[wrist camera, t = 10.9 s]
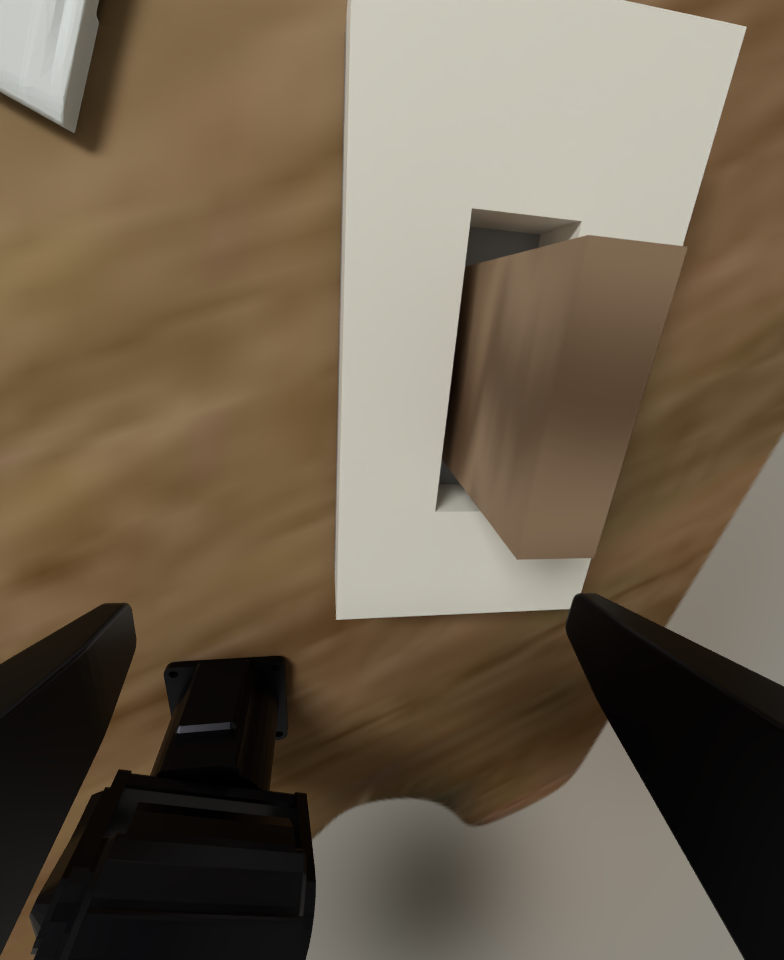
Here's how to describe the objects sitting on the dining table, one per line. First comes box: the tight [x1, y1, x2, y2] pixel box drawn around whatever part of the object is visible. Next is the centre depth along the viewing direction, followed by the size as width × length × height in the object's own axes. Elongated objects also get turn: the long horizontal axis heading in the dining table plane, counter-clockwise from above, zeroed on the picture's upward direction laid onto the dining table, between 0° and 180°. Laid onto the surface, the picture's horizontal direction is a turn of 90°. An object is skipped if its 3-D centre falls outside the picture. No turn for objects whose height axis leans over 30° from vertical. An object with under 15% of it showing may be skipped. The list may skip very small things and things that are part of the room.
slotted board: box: [334, 0, 746, 620], centre depth 18 cm, size 22×12×4 cm, turn 176°
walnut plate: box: [442, 235, 688, 560], centre depth 15 cm, size 8×2×9 cm, turn 176°
